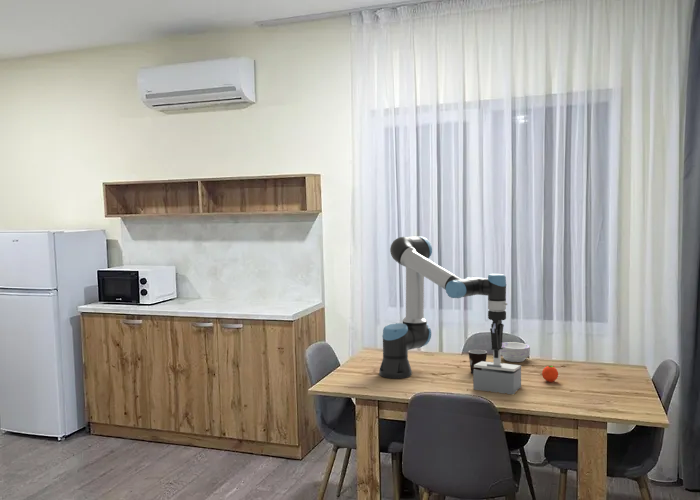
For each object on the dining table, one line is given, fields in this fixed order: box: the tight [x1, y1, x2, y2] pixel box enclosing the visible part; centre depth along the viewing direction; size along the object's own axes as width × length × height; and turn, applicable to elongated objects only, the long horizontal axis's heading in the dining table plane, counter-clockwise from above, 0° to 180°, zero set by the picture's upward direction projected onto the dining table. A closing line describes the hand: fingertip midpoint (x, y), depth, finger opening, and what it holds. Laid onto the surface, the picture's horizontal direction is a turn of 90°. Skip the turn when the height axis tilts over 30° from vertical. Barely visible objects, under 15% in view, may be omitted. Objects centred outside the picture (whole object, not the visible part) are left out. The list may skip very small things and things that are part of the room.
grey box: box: [472, 360, 522, 395], centre depth 268 cm, size 17×13×10 cm
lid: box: [474, 361, 522, 372], centre depth 267 cm, size 17×12×2 cm
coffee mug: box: [468, 349, 488, 374], centre depth 295 cm, size 12×9×10 cm
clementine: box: [541, 365, 559, 383], centre depth 277 cm, size 8×7×7 cm
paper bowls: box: [500, 341, 531, 363], centre depth 318 cm, size 15×15×8 cm
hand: (497, 364), depth 266 cm, fingers closed
